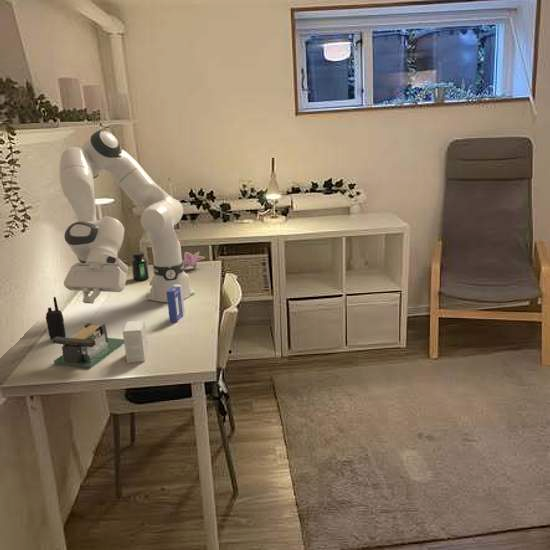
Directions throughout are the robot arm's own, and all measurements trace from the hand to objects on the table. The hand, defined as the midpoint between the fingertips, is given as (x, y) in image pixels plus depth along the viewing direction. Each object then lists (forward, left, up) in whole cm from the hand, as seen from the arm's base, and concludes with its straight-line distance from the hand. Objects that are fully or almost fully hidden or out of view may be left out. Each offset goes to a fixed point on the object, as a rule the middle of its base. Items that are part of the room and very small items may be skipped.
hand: (87, 302), depth 174 cm
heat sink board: (-1, -1, -17) cm, 17 cm away
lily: (-79, +43, -17) cm, 92 cm away
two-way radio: (-17, -12, -17) cm, 27 cm away
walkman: (-20, +29, -17) cm, 39 cm away
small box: (+8, +13, -17) cm, 23 cm away
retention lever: (-4, +1, -10) cm, 11 cm away
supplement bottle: (-75, +20, -17) cm, 79 cm away
